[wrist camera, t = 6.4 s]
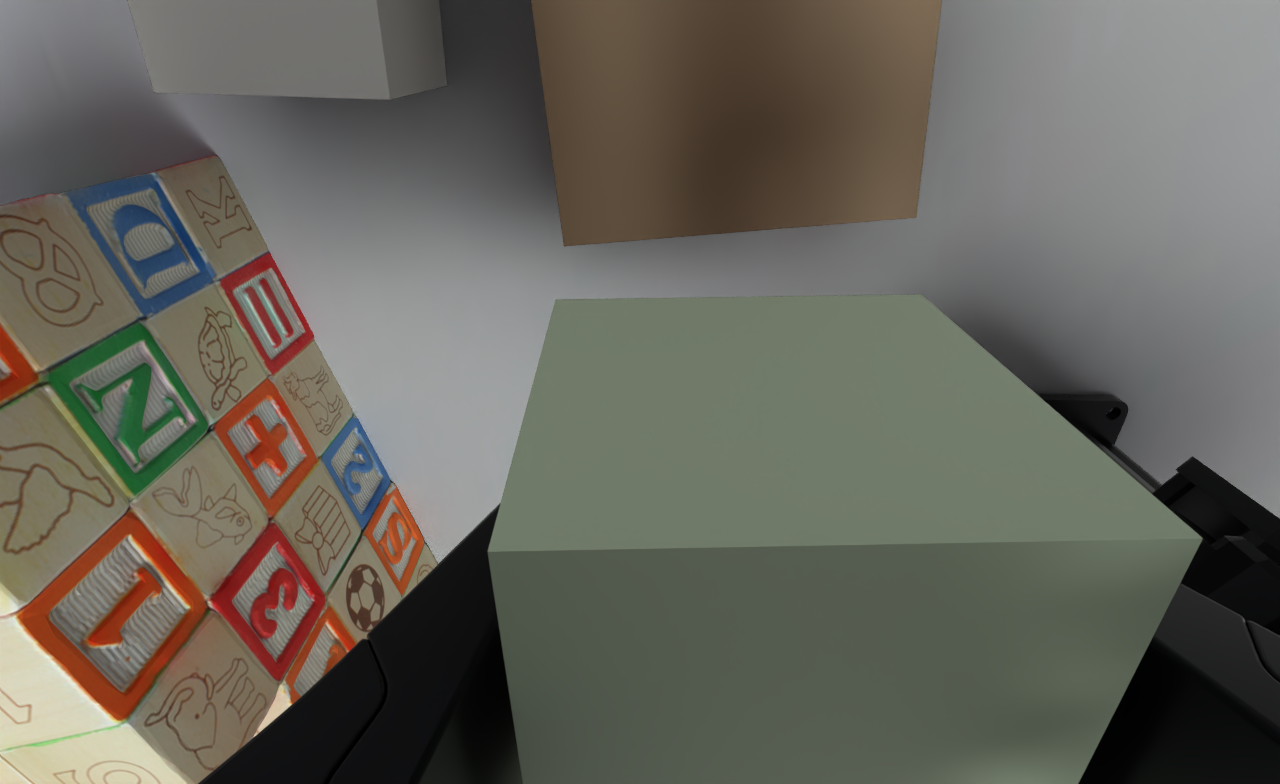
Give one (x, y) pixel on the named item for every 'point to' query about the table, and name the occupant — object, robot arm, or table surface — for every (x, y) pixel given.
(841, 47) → the walnut block
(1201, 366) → the table surface
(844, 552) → the sage cube
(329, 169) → the table surface
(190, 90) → the grey cube
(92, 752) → the stack of blocks
